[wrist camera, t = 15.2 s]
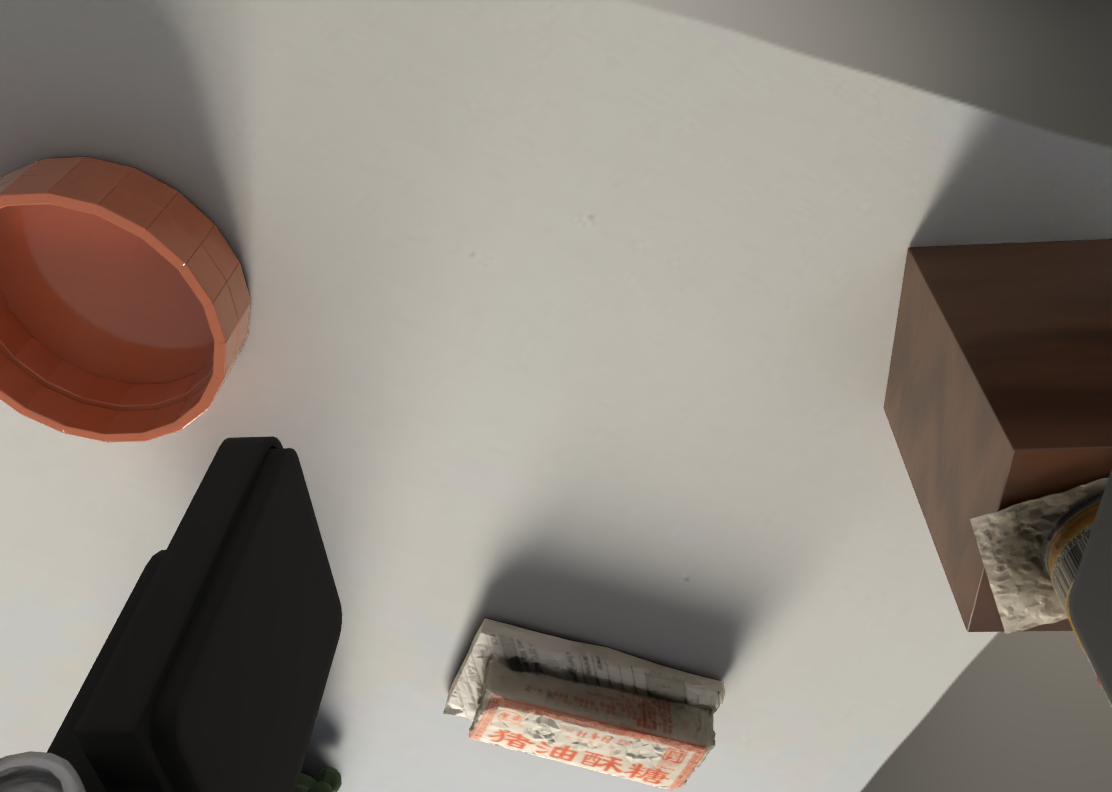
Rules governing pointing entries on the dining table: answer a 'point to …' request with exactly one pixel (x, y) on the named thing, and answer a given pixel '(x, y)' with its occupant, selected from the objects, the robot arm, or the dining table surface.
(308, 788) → the toy figurine
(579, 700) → the packaged product
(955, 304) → the stand
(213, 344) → the dish
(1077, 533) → the condiment
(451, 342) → the dining table surface
